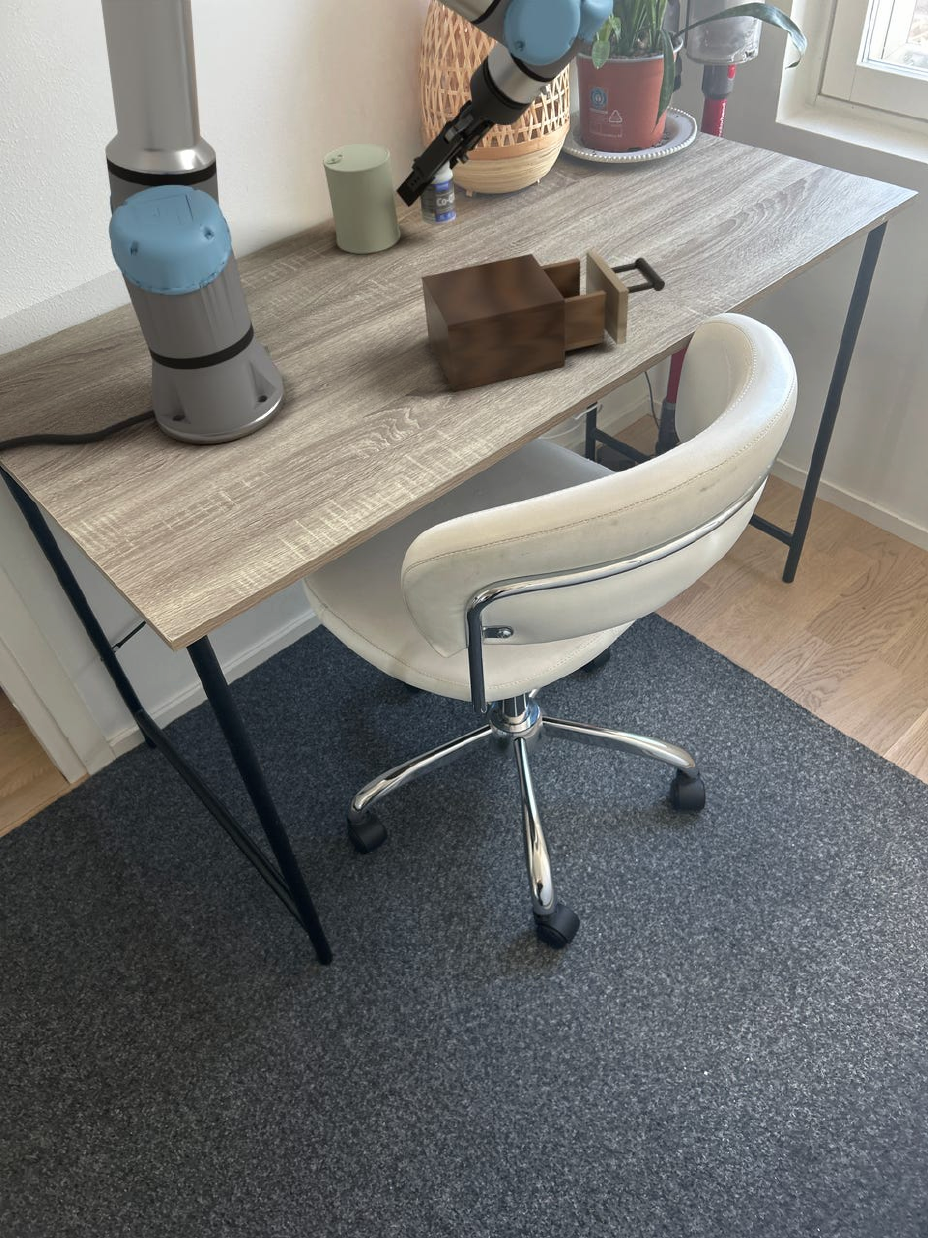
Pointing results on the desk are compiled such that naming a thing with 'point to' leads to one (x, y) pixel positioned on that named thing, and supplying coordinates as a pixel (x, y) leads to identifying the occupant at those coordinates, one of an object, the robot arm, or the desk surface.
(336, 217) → the can
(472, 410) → the desk surface
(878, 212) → the desk surface
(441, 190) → the pill bottle
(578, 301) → the drawer
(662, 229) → the desk surface
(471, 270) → the cabinet
